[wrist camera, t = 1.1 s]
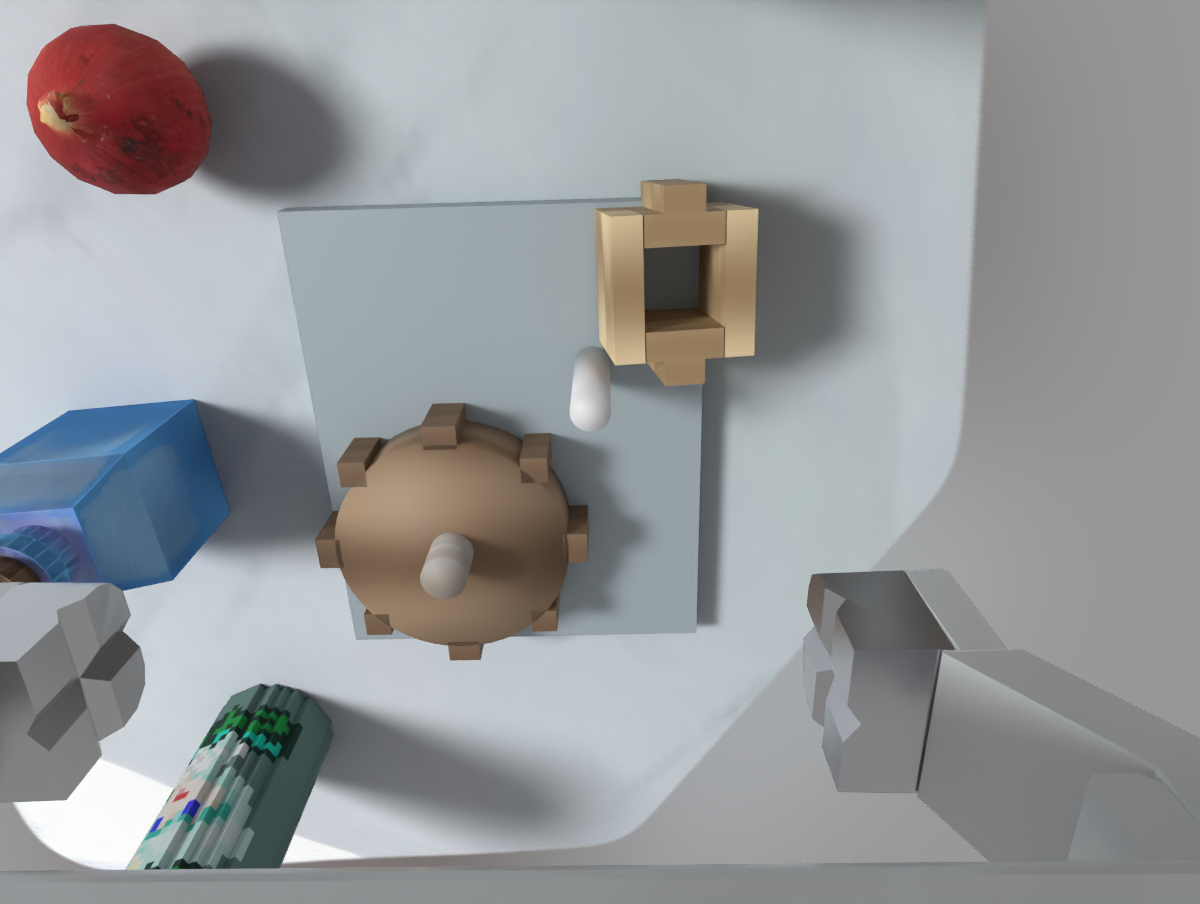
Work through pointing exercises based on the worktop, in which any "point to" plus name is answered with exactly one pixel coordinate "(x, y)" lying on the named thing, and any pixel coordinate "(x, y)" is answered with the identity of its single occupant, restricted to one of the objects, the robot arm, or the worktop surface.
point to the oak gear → (724, 281)
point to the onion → (118, 110)
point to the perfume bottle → (109, 497)
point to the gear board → (510, 376)
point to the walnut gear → (454, 532)
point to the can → (242, 786)
